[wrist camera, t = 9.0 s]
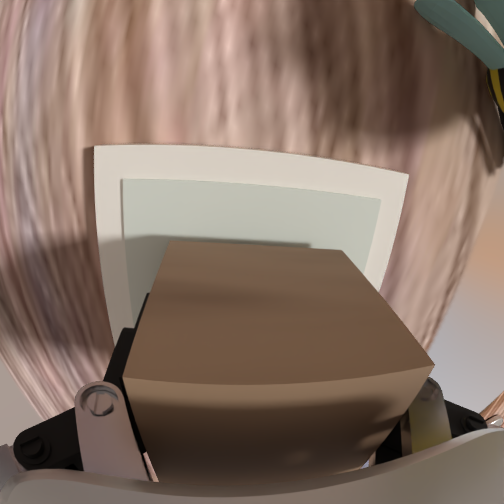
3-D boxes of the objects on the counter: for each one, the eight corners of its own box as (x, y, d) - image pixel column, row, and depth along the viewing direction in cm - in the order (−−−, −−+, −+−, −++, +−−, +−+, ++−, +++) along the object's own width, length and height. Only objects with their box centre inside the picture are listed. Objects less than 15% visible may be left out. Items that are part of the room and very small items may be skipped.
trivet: (337, 379, 16) (342, 390, 15) (128, 376, 14) (124, 389, 14) (398, 171, 11) (410, 175, 10) (102, 144, 10) (92, 146, 9)
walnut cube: (309, 369, 13) (347, 483, 7) (175, 368, 12) (164, 493, 7) (341, 249, 10) (434, 364, 5) (169, 240, 10) (122, 377, 4)
